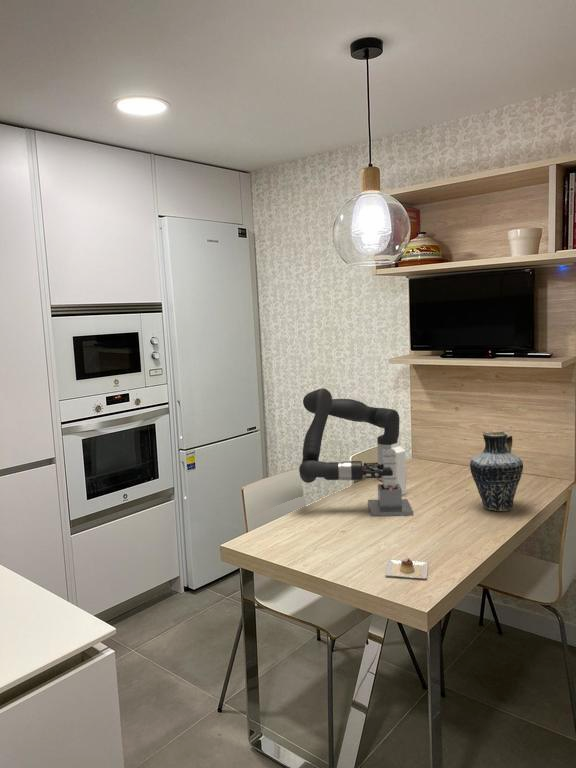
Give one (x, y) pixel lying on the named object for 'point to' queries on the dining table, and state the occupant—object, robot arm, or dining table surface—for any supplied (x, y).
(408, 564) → the dessert
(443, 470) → the dining table surface
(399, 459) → the milk
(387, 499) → the stand
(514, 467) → the jug
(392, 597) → the dining table surface
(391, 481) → the column
